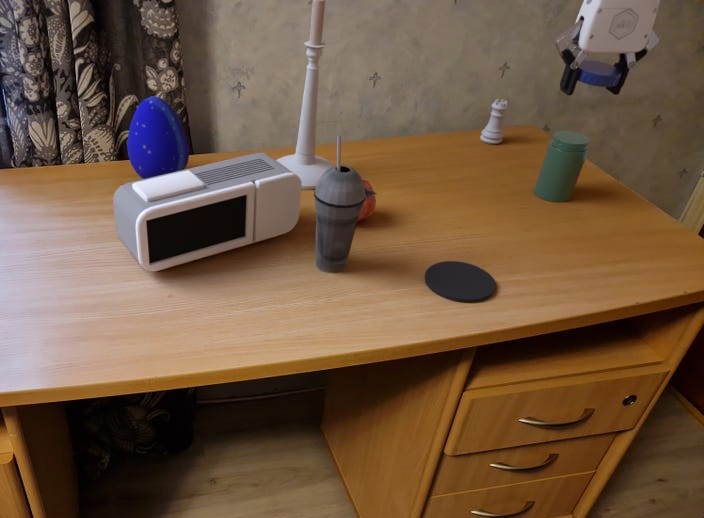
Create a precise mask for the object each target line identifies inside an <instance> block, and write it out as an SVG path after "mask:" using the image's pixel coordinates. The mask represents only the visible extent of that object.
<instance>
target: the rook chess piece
mask: <svg viewBox="0 0 704 518" xmlns="http://www.w3.org/2000/svg"><path fill="white" fill-rule="evenodd" d="M508 104H509V103H508V100H505V99H503V98H501V100H500V98H497V99H494V102H492V104H491V108H492V110H491V111H490V117H489V120H488V122H487V124H486V126H485V127H484V129H483V130H482V131H481V135H479V139H480V140H481V142H482V143H484V144H488V145H498V144H501V143H502V142H503V138H504V132H503V123H504V117H505V116H506V111H507V110H509V105H508Z"/></svg>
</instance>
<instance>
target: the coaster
mask: <svg viewBox="0 0 704 518" xmlns="http://www.w3.org/2000/svg"><path fill="white" fill-rule="evenodd" d="M424 282H425V285H426V286H427V288H428V289H429V290H430V291H432V292H433V293H434V294H436V295H438V296H440V297H442V298H444V299H446V300H450V301H452V302H458V303H466V304H468V303H469V304H471V303H478V302H484V301H485V300H487V299H490V298H491V297H492V296H493V295H494V293H495V291H496V285H497V284H496V280H495V278H494V277H493V276H492V275H491V274H490V273H489V272H488V271H486V270H485V269H483V268H481V267H479V266H478V265H475V264H472V263H468V262H464V261H458V260H457V261H455V260H445V261H439V262H435V263H434V264H432V265H430V266H428V268H427V269H426V271H425V274H424Z"/></svg>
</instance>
